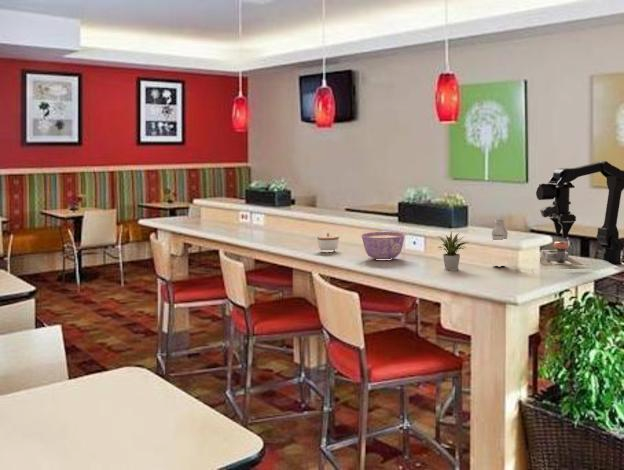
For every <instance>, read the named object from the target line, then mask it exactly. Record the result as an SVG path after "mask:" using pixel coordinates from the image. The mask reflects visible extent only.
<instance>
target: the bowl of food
mask: <svg viewBox="0 0 624 470" xmlns="http://www.w3.org/2000/svg"><path fill="white" fill-rule="evenodd" d="M405 236H406V234H405V233H403V232H398V231H397V232H396V231H373V232H372V231H371V232H367V233H362V234H361V239H362V243H363V247H364V249H365V253H366V254H367V256H368V257H370V258H371V259H374V260H375V259H391V258H392V259H394V258H397V257H399V256H400V254H401V253H402V250H403V245H404V240H405Z"/></svg>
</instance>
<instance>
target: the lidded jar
mask: <svg viewBox="0 0 624 470" xmlns="http://www.w3.org/2000/svg"><path fill="white" fill-rule="evenodd" d="M316 238H317V246H318V248H319V250H320V251H322V250H335V249H336V250H337V249H338V248H339V243H340V241H339V239H340V236H339V235H336V234H334V235H333V234H330V232H328V233H326V235H319V236H317V237H316ZM336 250H335V251H336Z"/></svg>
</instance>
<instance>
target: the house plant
mask: <svg viewBox="0 0 624 470" xmlns="http://www.w3.org/2000/svg"><path fill="white" fill-rule="evenodd" d="M458 235H460V232H459V233H457V234H455V235H454V236H453V230H451V232H450V236H448V235H447V234H446V235H445V237H446V239H444V238H443V236H442V235H439V236H437V237H438V238H440V240H441V241H442V242H443V243H442V244H441V245H442V246H438V247H437V249H438V250H440V251H441V249H442V250H444V251H445V252H446V253H443V254H442V256H443V257H442V258H443V262H444V268H445V269H444V270H446V271H457V270H458V269H459V263H460V258H461V254H460V253H457V252H458V251H459V250H465V249H468V248H467V247H466V246H464V247H462V246H463V245H465V244H469V241H468V242H465V241H464V242H460V241H461V240H462V239H464V238H465V237H466V235H465V236H462V237H460V238H458Z"/></svg>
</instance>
